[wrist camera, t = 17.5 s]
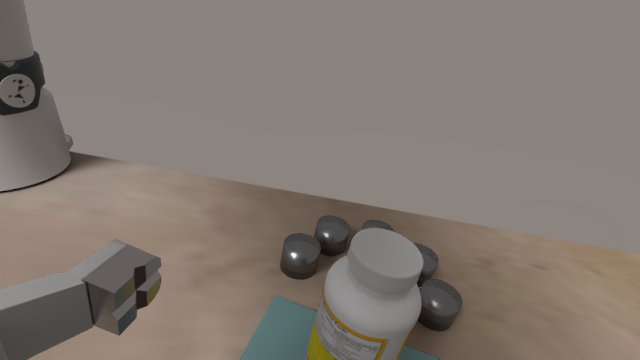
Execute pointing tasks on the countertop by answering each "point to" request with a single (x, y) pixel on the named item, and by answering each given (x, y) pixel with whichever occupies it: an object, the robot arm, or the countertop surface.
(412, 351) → the mat
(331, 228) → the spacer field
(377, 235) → the supplement bottle
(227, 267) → the countertop surface
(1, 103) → the robot arm
